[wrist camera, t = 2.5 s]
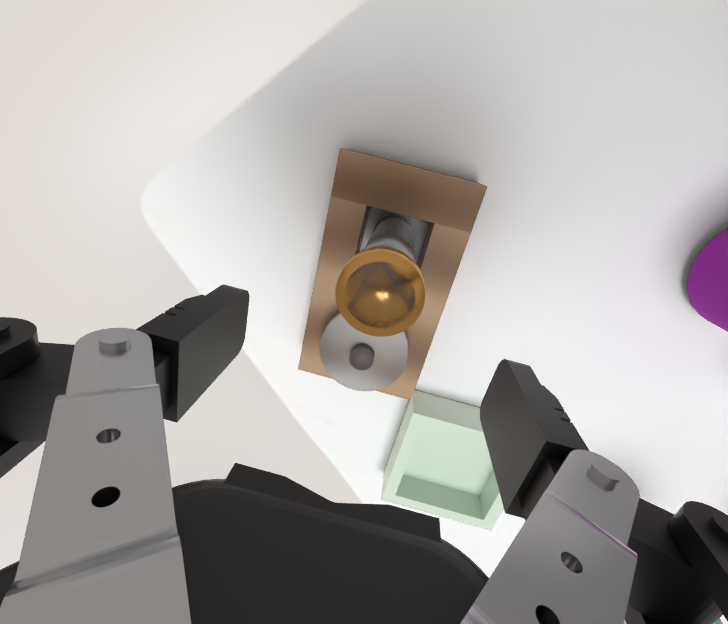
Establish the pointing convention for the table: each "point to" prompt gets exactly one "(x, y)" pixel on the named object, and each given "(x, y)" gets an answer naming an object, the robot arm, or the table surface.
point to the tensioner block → (343, 240)
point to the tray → (443, 463)
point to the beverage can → (711, 281)
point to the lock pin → (383, 282)
